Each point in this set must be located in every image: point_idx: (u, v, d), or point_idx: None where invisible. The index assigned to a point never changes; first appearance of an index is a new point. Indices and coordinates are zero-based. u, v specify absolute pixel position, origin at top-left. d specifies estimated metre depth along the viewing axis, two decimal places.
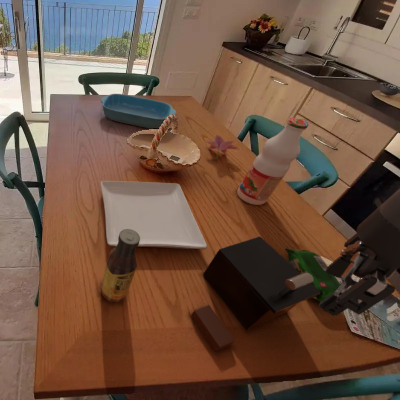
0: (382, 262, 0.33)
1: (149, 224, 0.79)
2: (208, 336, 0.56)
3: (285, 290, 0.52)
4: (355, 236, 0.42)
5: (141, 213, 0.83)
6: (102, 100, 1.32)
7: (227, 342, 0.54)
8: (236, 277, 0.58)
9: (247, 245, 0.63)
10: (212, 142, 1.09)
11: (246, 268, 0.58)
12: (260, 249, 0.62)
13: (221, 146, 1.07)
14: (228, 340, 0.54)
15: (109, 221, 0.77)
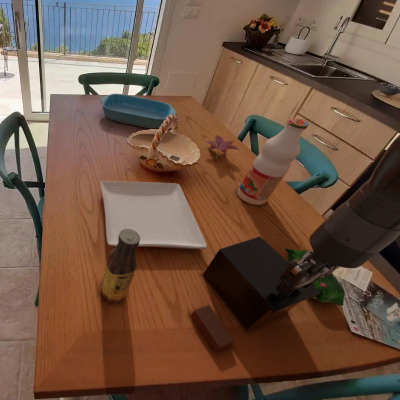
0: (313, 255, 0.45)
1: (149, 224, 0.79)
2: (208, 336, 0.56)
3: None
4: None
5: (141, 213, 0.83)
6: (102, 100, 1.32)
7: (227, 342, 0.54)
8: (236, 277, 0.58)
9: (247, 245, 0.63)
10: (212, 142, 1.09)
11: (246, 268, 0.58)
12: (260, 249, 0.62)
13: (221, 146, 1.07)
14: (228, 340, 0.54)
15: (109, 221, 0.77)
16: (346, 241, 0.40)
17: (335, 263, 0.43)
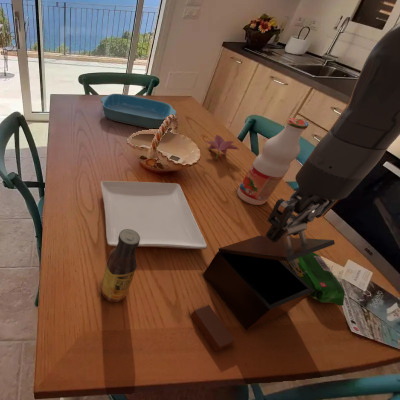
0: (299, 190, 0.45)
1: (149, 224, 0.79)
2: (208, 336, 0.56)
3: (286, 241, 0.50)
4: None
5: (141, 213, 0.83)
6: (102, 100, 1.32)
7: (227, 342, 0.54)
8: (236, 277, 0.58)
9: (247, 241, 0.62)
10: (212, 142, 1.09)
11: (248, 248, 0.56)
12: (260, 239, 0.61)
13: (221, 146, 1.07)
14: (228, 340, 0.54)
15: (109, 221, 0.77)
16: (329, 168, 0.41)
17: (320, 195, 0.43)
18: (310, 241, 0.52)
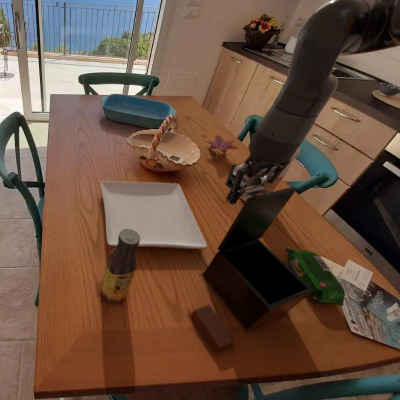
0: (250, 156, 0.52)
1: (149, 224, 0.79)
2: (208, 336, 0.56)
3: (250, 198, 0.56)
4: None
5: (141, 213, 0.83)
6: (102, 100, 1.32)
7: (227, 342, 0.54)
8: (236, 277, 0.58)
9: None
10: (212, 142, 1.09)
11: None
12: None
13: (221, 146, 1.07)
14: (228, 340, 0.54)
15: (109, 221, 0.77)
16: (272, 135, 0.48)
17: (266, 159, 0.50)
18: None
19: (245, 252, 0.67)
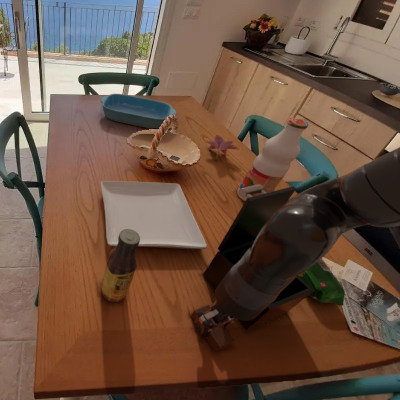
0: (216, 306, 0.49)
1: (149, 224, 0.79)
2: (208, 336, 0.56)
3: None
4: None
5: (141, 213, 0.83)
6: (102, 100, 1.32)
7: (227, 342, 0.54)
8: None
9: None
10: (212, 142, 1.09)
11: None
12: None
13: (221, 146, 1.07)
14: (228, 340, 0.54)
15: (109, 221, 0.77)
16: (236, 299, 0.45)
17: (231, 316, 0.47)
18: None
19: None
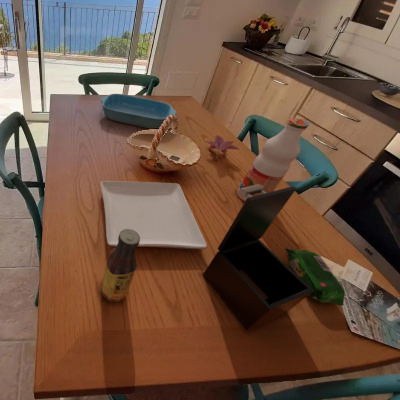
0: None
1: (149, 224, 0.79)
2: None
3: None
4: None
5: (141, 213, 0.83)
6: (102, 100, 1.32)
7: None
8: (236, 277, 0.58)
9: None
10: (212, 142, 1.09)
11: None
12: None
13: (221, 146, 1.07)
14: None
15: (109, 221, 0.77)
16: None
17: None
18: None
19: (245, 252, 0.67)
